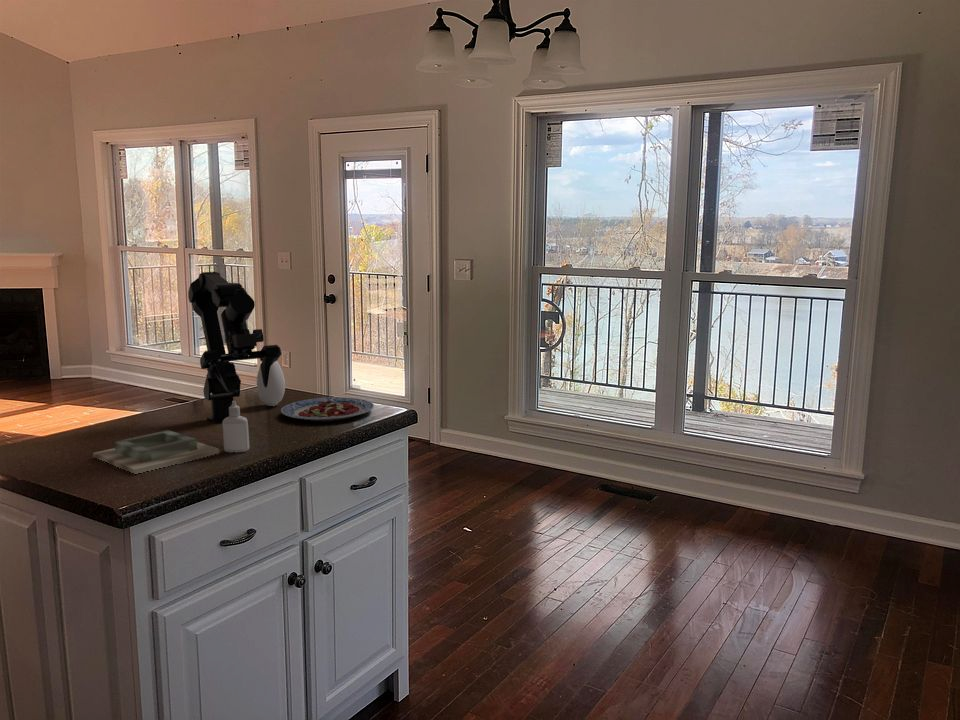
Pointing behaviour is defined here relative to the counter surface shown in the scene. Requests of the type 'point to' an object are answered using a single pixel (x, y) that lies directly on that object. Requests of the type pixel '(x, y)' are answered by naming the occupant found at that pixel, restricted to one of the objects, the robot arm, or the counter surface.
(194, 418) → the counter surface
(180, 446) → the bottle socket
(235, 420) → the eye dropper bottle
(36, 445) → the counter surface
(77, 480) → the counter surface
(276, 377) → the white vase
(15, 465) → the counter surface
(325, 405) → the ceramic plate
